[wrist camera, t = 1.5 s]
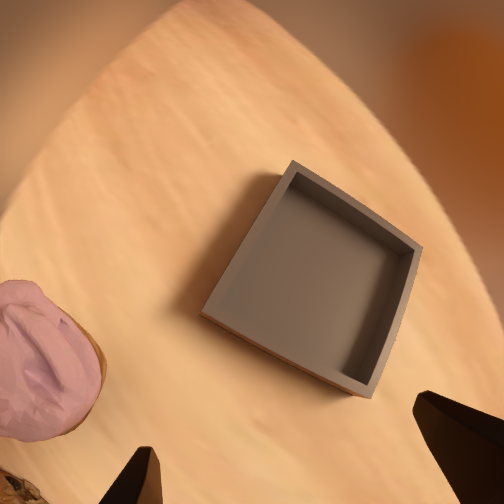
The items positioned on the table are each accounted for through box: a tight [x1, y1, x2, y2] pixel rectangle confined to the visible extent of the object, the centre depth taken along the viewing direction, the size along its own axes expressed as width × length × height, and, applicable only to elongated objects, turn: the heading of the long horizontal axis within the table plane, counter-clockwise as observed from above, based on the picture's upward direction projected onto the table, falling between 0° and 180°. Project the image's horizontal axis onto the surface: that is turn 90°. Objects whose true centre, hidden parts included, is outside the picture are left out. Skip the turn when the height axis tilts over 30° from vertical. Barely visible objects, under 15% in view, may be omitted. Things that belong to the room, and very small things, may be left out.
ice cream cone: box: [0, 280, 107, 442], centre depth 12 cm, size 7×6×15 cm
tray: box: [200, 160, 423, 399], centre depth 24 cm, size 14×14×2 cm
